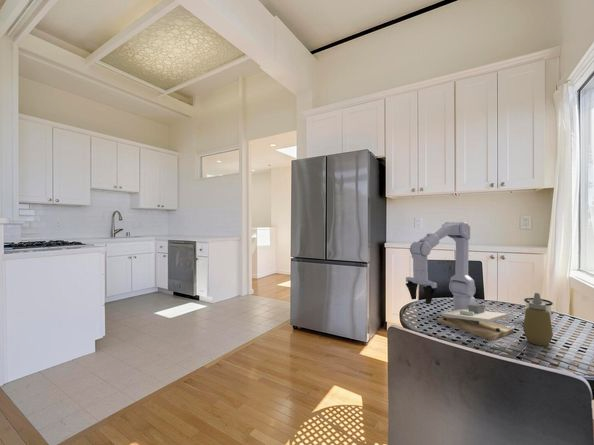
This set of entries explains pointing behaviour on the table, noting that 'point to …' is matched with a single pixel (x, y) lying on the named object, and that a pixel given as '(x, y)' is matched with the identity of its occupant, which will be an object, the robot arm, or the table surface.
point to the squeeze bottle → (537, 323)
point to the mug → (548, 303)
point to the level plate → (475, 314)
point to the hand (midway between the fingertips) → (420, 301)
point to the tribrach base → (477, 327)
